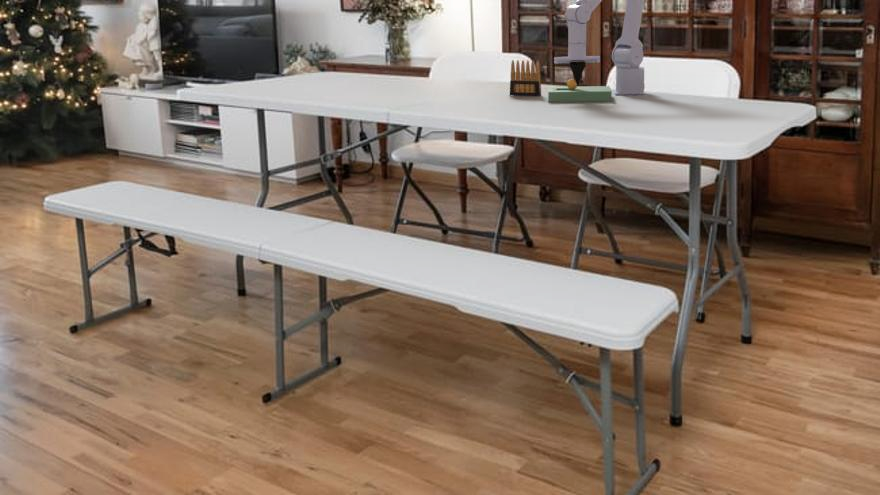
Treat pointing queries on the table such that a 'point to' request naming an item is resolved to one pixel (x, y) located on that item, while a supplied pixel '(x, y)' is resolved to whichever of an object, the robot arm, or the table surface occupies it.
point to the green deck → (580, 94)
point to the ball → (572, 84)
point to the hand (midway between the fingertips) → (576, 85)
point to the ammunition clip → (525, 80)
